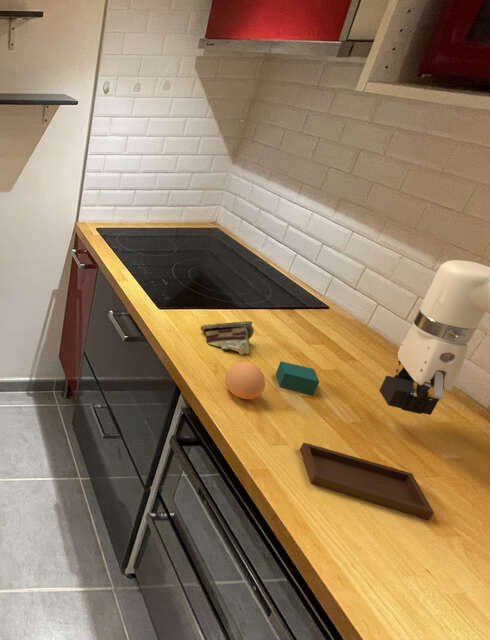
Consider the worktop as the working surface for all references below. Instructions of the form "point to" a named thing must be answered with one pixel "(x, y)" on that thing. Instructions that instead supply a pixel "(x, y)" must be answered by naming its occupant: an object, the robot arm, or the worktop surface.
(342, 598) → the worktop surface
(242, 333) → the chocolate cake
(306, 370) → the teal block
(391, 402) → the black rectangular block
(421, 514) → the backing tray
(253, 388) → the egg
